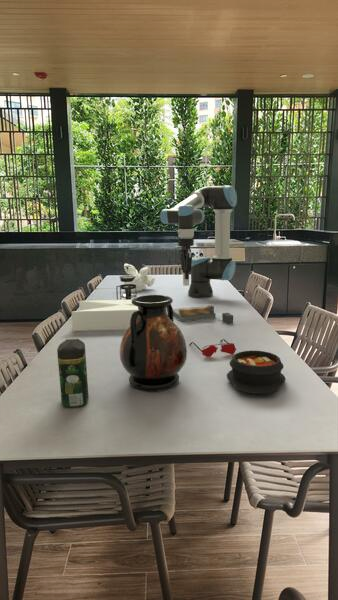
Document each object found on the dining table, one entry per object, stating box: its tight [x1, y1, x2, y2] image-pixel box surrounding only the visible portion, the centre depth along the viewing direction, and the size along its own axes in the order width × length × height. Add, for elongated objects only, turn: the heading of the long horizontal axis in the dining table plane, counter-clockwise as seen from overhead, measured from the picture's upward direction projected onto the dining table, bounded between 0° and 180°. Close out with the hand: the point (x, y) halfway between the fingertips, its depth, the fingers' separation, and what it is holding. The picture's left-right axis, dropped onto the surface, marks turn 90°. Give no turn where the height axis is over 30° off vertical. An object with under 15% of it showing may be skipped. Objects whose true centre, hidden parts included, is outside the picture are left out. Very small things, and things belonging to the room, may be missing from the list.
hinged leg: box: [179, 305, 215, 316], centre depth 217 cm, size 18×4×3 cm, turn 107°
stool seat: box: [173, 305, 217, 322], centre depth 223 cm, size 18×16×2 cm
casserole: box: [226, 350, 287, 395], centre depth 142 cm, size 25×19×8 cm
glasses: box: [188, 338, 237, 358], centre depth 174 cm, size 14×16×5 cm
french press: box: [115, 264, 138, 300], centre depth 242 cm, size 12×9×23 cm
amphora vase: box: [119, 294, 188, 392], centre depth 141 cm, size 22×22×28 cm
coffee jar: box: [56, 338, 89, 409], centre depth 129 cm, size 10×8×19 cm
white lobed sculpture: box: [123, 263, 156, 293], centre depth 290 cm, size 19×20×20 cm
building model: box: [71, 298, 168, 332], centre depth 213 cm, size 45×22×10 cm, turn 92°
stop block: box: [221, 312, 234, 325], centre depth 211 cm, size 3×6×4 cm, turn 17°
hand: (186, 285), depth 220 cm, fingers closed
